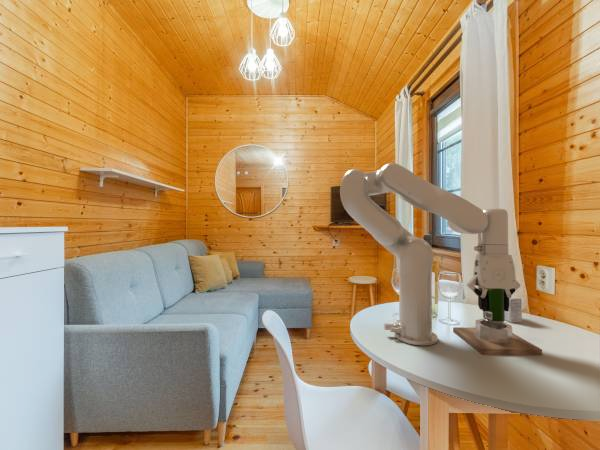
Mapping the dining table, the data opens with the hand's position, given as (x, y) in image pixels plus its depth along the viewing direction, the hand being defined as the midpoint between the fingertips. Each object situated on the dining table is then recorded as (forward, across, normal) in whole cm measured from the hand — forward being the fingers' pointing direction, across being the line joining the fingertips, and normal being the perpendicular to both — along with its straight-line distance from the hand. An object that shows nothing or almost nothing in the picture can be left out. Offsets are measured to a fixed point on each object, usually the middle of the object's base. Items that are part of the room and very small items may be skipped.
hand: (493, 309), depth 86 cm
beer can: (+4, 0, 0) cm, 4 cm away
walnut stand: (+10, 0, 0) cm, 10 cm away
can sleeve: (+8, 0, 0) cm, 8 cm away
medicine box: (+10, +18, +21) cm, 29 cm away
